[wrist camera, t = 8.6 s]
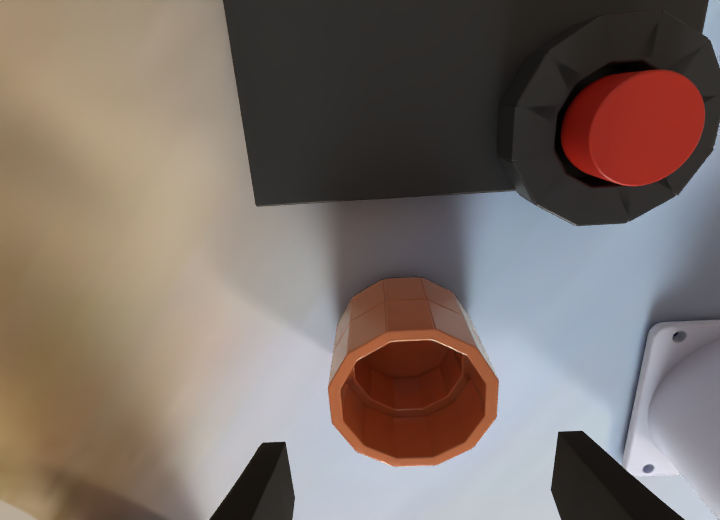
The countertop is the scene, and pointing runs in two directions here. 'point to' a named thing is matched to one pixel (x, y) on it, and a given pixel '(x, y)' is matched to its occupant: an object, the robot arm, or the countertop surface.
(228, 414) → the countertop surface
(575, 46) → the scale
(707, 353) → the robot arm
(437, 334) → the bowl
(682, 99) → the button
